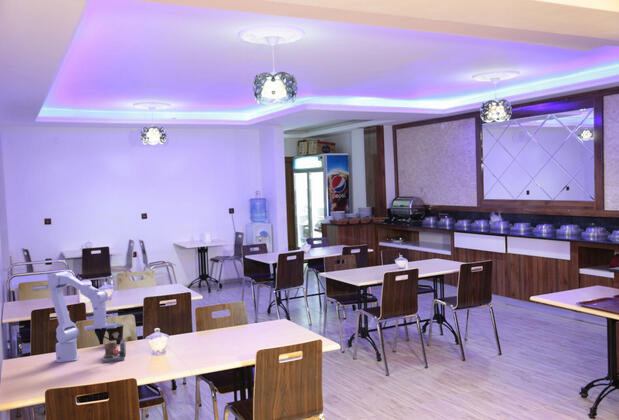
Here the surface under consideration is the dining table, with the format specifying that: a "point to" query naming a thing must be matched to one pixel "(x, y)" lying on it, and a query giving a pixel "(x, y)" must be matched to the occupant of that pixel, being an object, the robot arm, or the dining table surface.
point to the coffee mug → (115, 333)
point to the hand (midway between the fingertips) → (101, 343)
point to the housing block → (110, 347)
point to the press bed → (121, 352)
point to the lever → (116, 353)
